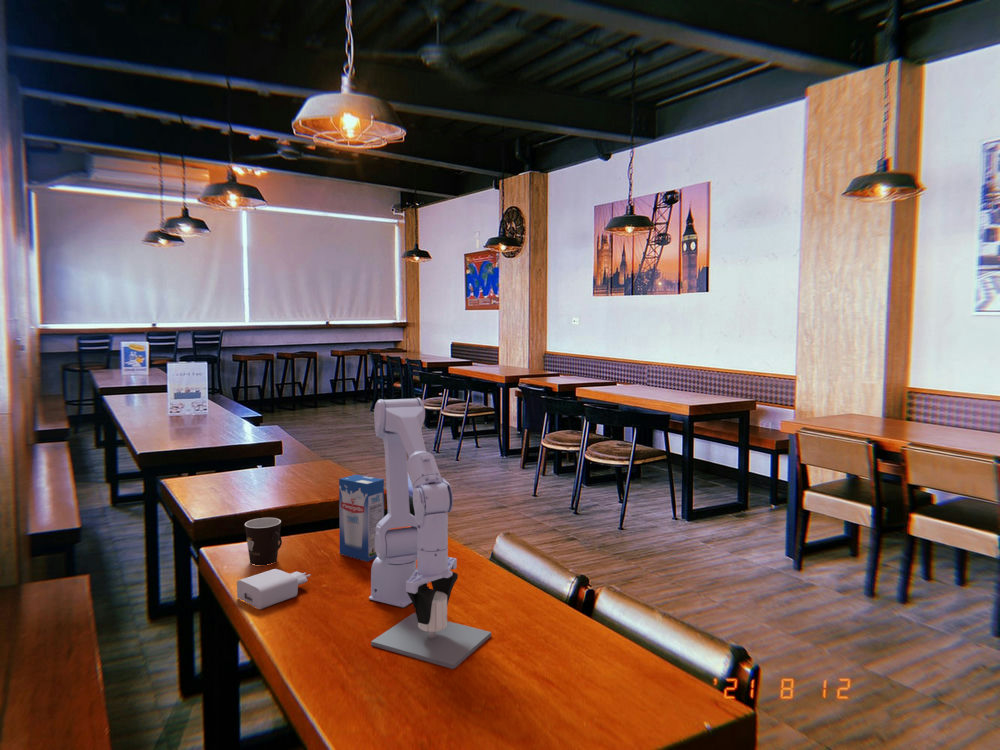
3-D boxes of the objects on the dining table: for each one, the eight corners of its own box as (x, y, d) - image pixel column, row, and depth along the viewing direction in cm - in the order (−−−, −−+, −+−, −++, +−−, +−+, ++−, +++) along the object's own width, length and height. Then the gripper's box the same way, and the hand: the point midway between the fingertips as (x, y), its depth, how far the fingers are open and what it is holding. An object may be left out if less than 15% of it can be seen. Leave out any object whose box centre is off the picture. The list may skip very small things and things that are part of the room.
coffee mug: (244, 558, 168) (243, 520, 167) (279, 553, 172) (278, 516, 171) (247, 574, 157) (246, 533, 157) (285, 568, 161) (284, 528, 160)
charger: (320, 589, 149) (260, 611, 138) (296, 579, 155) (237, 600, 143) (320, 569, 149) (260, 589, 137) (296, 559, 155) (236, 578, 143)
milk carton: (384, 554, 172) (384, 479, 170) (367, 561, 167) (367, 484, 165) (356, 547, 177) (356, 474, 176) (339, 554, 172) (338, 478, 170)
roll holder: (371, 645, 123) (371, 628, 123) (414, 616, 135) (414, 600, 135) (453, 669, 115) (453, 651, 115) (491, 636, 127) (491, 619, 127)
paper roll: (412, 627, 124) (412, 599, 123) (428, 616, 128) (428, 589, 128) (437, 634, 121) (437, 605, 121) (452, 622, 126) (452, 594, 126)
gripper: (429, 562, 116) (428, 637, 117) (470, 539, 128) (469, 606, 129) (396, 555, 119) (396, 628, 120) (439, 533, 132) (439, 599, 133)
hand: (432, 616), depth 125 cm, fingers closed on paper roll, 5 cm apart
